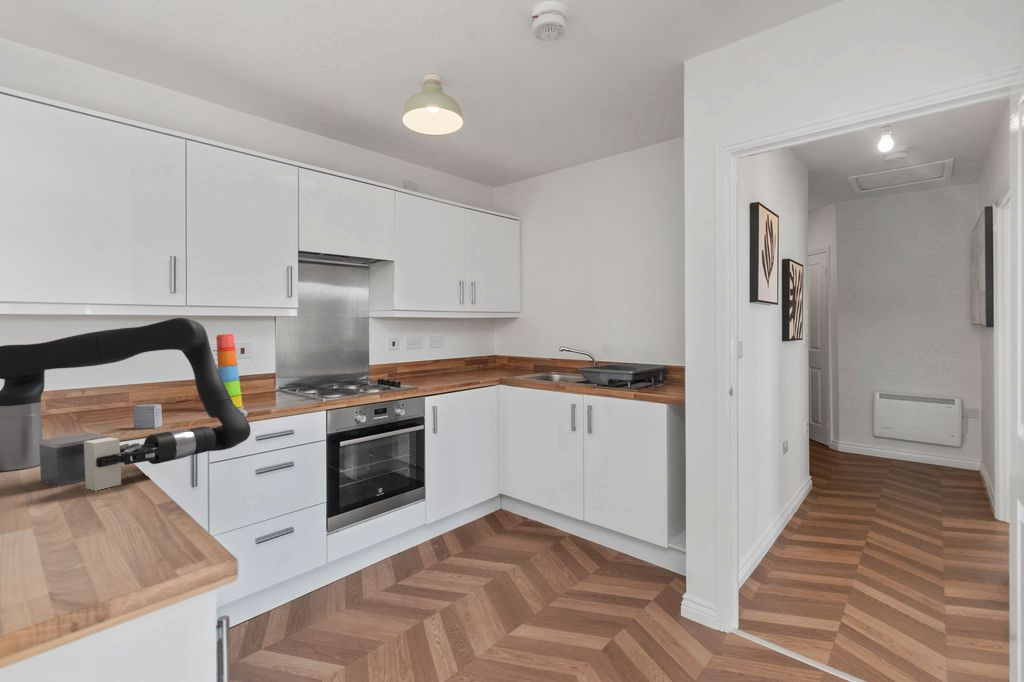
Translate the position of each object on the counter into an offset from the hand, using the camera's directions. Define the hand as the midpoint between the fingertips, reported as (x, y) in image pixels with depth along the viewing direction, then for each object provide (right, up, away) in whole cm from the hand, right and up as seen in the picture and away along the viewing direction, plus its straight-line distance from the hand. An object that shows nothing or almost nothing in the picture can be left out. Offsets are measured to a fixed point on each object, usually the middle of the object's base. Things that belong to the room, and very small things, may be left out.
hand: (91, 461), depth 117 cm
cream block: (+1, -6, +2) cm, 7 cm away
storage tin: (-12, -7, +9) cm, 17 cm away
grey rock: (-17, -5, +97) cm, 99 cm away
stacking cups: (-31, -4, +115) cm, 119 cm away
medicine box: (-41, -5, +76) cm, 86 cm away
